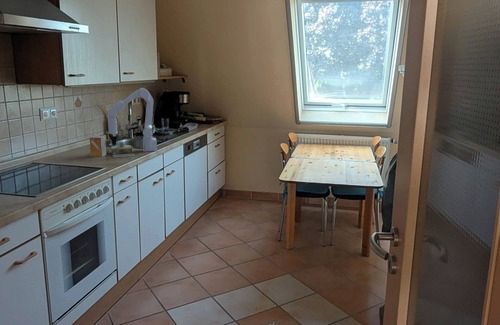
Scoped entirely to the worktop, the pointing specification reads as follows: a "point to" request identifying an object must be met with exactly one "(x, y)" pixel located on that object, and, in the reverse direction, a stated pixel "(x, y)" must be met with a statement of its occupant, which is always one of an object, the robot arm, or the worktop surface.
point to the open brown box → (121, 151)
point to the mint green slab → (122, 146)
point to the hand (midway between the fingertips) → (114, 145)
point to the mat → (123, 155)
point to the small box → (98, 146)
